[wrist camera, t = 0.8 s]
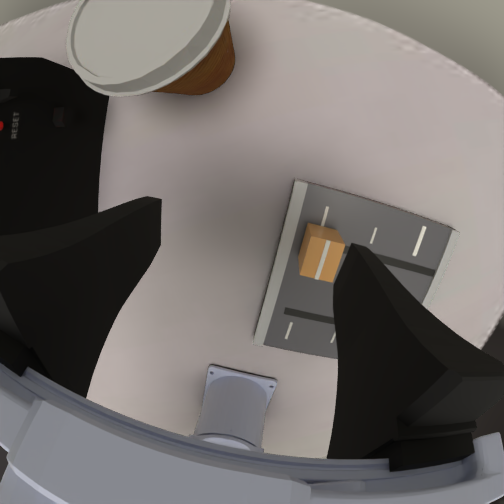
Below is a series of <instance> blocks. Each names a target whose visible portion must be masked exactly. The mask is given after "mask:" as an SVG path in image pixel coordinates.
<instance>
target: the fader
mask: <svg viewBox="0 0 504 504" xmlns="http://www.w3.org/2000/svg"><path fill="white" fill-rule="evenodd" d="M344 247H345V243H344V241H343V239H342V238H341V236H340V234H339V232H338V230H335V229H331V228H327V227H323V226H319V225H315V224H311V223H308V224H307V227H306V231H305V234H304V238H303V242H302V245H301V249H300V252H299V256H298V261H299V273H300V275H302V276H306V277H311V278H314V279H317V280H323V281H328V282H333V280H334V277H335V274H336V271H337V268H338V265H339V262H340V259H341V257H342V254H343V251H344Z"/></svg>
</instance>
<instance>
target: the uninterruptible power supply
mask: <svg viewBox="0 0 504 504" xmlns="http://www.w3.org/2000/svg"><path fill="white" fill-rule="evenodd" d="M108 100H109V96H108V95H104V94H102V93H99V92H96V91H94V90H93V89H92V88H90V87H89V86H87V85H86V84H85V82H84V81H83V80H82V79H81V78H80V76H79V75H78V74H77V73H76V72H75V71H74V70H73V69H70V68H68V67H65V66H63V65H60V64H57V63H55V62H52V61H50V60H47V59H44V58H39V57H17V58H0V236H2V235H11V234H19V233H25V232H31V231H36V230H41V229H45V228H50V227H55V226H59V225H62V224H66V223H69V222H73V221H76V220H79V219H82V218H85V217H88V216H91V215H93V214H96V213H98V195H99V176H100V163H101V152H102V142H103V134H104V126H105V119H106V113H107V106H108Z"/></svg>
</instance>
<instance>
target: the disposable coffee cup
mask: <svg viewBox="0 0 504 504" xmlns="http://www.w3.org/2000/svg"><path fill="white" fill-rule="evenodd" d="M230 5H231V0H80V2H79V3H78V5H77V7H76V9H75V10H74V13H73V15H72V17H71V20H70V22H69V27H68V32H67V38H66V53H67V56H68V60H69V63H70V64H71V66H72V67H73V69H74V71H75V72H76V73H77V74H78V75H79V76H80V78H81V79H82V80H83V81H84V82H85V84H86V85H87V86H89V87H90V88H92V89H93V90H94V91H96V92H99V93H102V94H104V95H108V96H115V97H126V96H138V95H142V94H145V93H149V92H165V93H177V94H186V95H202V94H205V93H209V92H211V91H213V90H215V89H217V88H218V87H220V86H221V85H222V84H223V83H224V82H225V81H226V80H227V78H228V77H229V76H230V74H231V72H232V70H233V67H234V64H235V54H234V49H233V43H232V38H231V32H230V26H229V21H228V18H229V16H230Z"/></svg>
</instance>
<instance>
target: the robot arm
mask: <svg viewBox="0 0 504 504" xmlns="http://www.w3.org/2000/svg"><path fill="white" fill-rule="evenodd" d="M161 205H162V199H159V198H153V197H148V196H147V197H142V198H138V199H135V200H132V201H129V202H126V203H124V204H121V205H118V206H115V207H113V208H110V209H108V210H105V211H102V212H99V213H96V214H93V215H91V216H88V217H85V218H82V219H79V220H76V221H73V222H69V223H66V224H62V225H59V226H55V227H50V228H45V229H41V230H36V231H31V232H25V233H19V234H11V235H2V236H0V445H1V446H2V447H3V448H4V449H5V450H6V451H7V452H8V455H7V460H8V462H9V464H8V466H7V468H6V471H5V473H4V476H3V478H2V480H1V483H0V504H489V503H491V502H492V501H495V500H496V499H498V498H500V497H502V496H504V451H503V446H502V441H501V437H500V433H498V432H497V433H493V434H489V435H485V436H481V437H478V438H476V439H474V440H473V439H472V434H471V432H474V431H475V430H476V428H477V426H476V422H475V420H476V419H477V418H478V417H480V416H481V415H482V414H483V413H485V412H486V411H487V410H488V409H490V408H491V407H492V406H493V405H495V404H496V403H497V402H498V401H499V400H500V399H501V398H502V397H503V395H504V365H503V363H502V362H501V361H499V360H497V359H495V358H494V357H492V356H490V355H489V354H487V353H485V352H483V351H482V350H480V349H478V348H477V347H475V346H474V345H472V344H471V343H469V342H468V341H466V340H465V339H463V338H462V337H460V336H459V335H458V334H456V333H455V332H454V331H452V330H451V329H450V328H449V327H447V326H446V325H445V324H444V323H442V322H441V321H440V320H439V319H437V318H436V317H435V316H434V315H433V314H432V313H431V312H430V311H428V310H427V309H426V308H425V307H424V306H423V305H422V304H421V303H420V302H419V301H418V300H417V299H416V298H415V297H414V296H413V295H412V294H411V293H410V292H409V291H408V290H407V289H406V288H405V287H404V286H403V285H402V284H401V283H400V282H399V280H398V279H397V278H396V277H395V276H394V275H393V274H392V273H391V272H390V270H389V269H388V268H387V267H386V266H385V265H384V264H383V263H382V262H381V260H380V259H379V258H378V257H377V256H376V255H375V254H374V253H373V252H372V251H371V250H370V249H369V248H367V247H366V246H362V245H358V244H355V243H351V245H350V247H349V250H348V252H347V255H346V257H345V259H344V262H343V264H342V266H341V269H340V271H339V273H338V276H337V278H336V280H335V282H334V285H333V314H334V324H335V333H336V343H337V353H338V381H337V395H336V406H335V415H334V422H333V428H332V435H331V440H330V445H329V450H328V454H327V459H318V458H304V457H293V456H284V455H275V454H268V453H263V452H264V449H263V448H261V445H262V437H263V429H264V420H265V412H266V409H267V407H268V404H269V402H270V400H271V397H272V395H273V393H274V390H275V388H276V385H277V381H276V380H275V379H271V378H266V377H261V376H256V375H252V374H247V373H243V372H238V371H234V370H230V369H226V368H222V367H218V366H214V365H210V366H209V368H208V373H207V379H206V385H205V392H204V398H203V404H202V409H201V413H200V416H199V419H198V422H197V425H196V428H195V431H194V434H193V435H189V437H187V436H183V435H180V434H177V433H173V432H170V431H167V430H164V429H161V428H158V427H155V426H152V425H149V424H146V423H143V422H140V421H138V420H135V419H132V418H130V417H127V416H125V415H122V414H120V413H117V412H115V411H112V410H110V409H108V408H105V407H103V406H101V405H99V404H97V403H94V402H92V401H90V400H88V399H86V397H87V393H88V389H89V386H90V382H91V379H92V376H93V373H94V370H95V367H96V364H97V361H98V358H99V356H100V353H101V350H102V348H103V346H104V343H105V341H106V338H107V336H108V334H109V332H110V329H111V327H112V325H113V323H114V321H115V319H116V317H117V315H118V313H119V311H120V310H121V308H122V306H123V304H124V303H125V301H126V300H127V298H128V297H129V296H130V294H131V293H132V291H133V290H134V288H135V287H136V285H137V284H138V282H139V281H140V279H141V278H142V276H143V275H144V274H145V272H146V271H147V269H148V268H149V266H150V265H151V263H152V261H153V259H154V257H155V255H156V253H157V251H158V249H159V247H160V245H161ZM211 371H212V372H211ZM270 385H273V386H270Z"/></svg>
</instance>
